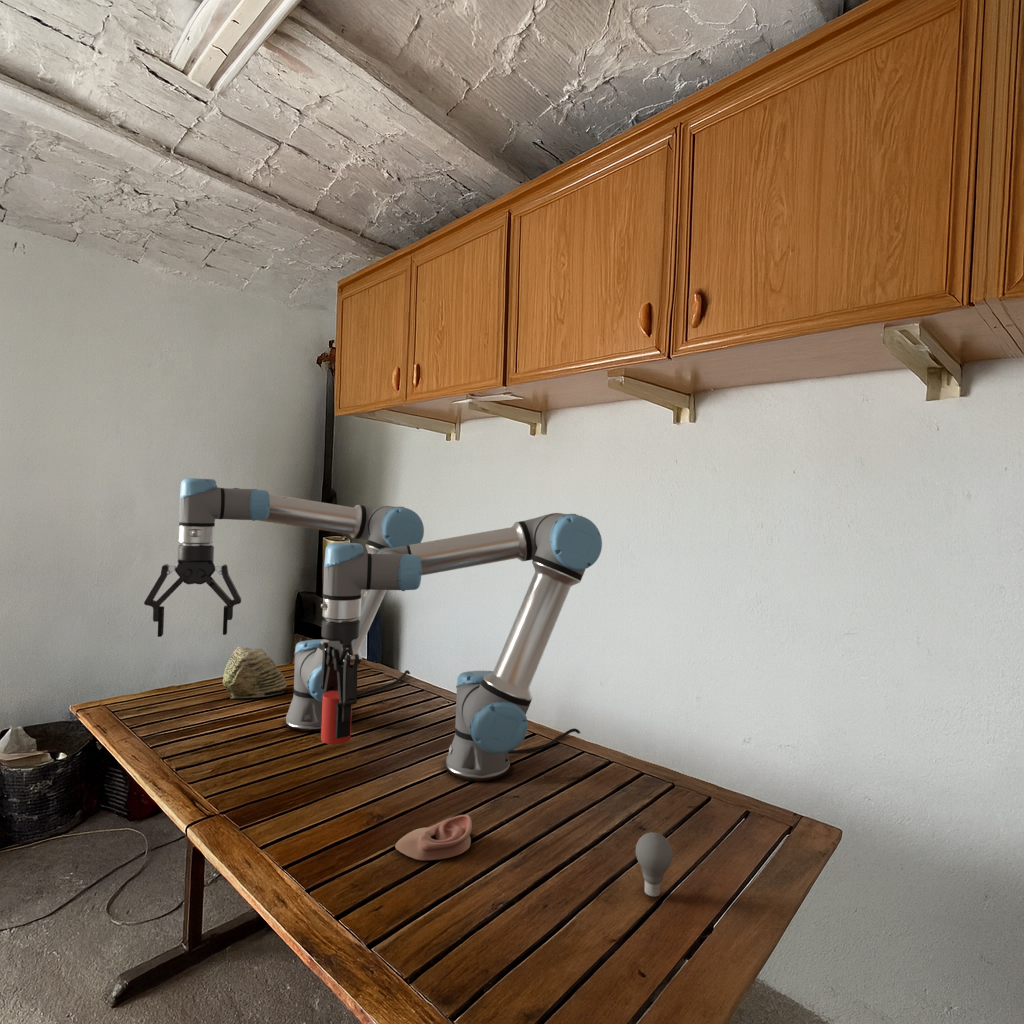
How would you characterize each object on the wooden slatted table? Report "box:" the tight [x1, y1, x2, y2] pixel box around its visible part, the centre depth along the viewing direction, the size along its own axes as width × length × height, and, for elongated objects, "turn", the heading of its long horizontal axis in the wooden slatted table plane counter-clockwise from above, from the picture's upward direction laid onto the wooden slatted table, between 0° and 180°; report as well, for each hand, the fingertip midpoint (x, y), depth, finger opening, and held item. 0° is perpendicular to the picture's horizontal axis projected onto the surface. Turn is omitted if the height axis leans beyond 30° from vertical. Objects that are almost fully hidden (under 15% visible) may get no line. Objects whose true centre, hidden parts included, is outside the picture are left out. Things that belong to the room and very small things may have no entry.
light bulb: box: [635, 831, 674, 897], centre depth 105 cm, size 6×6×10 cm
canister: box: [320, 690, 353, 745], centre depth 129 cm, size 6×6×9 cm
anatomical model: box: [394, 814, 473, 861], centre depth 117 cm, size 13×4×12 cm
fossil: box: [222, 646, 288, 699], centre depth 198 cm, size 9×18×15 cm, turn 132°
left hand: (193, 634), depth 148 cm, fingers open, 13 cm apart
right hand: (336, 731), depth 129 cm, fingers closed on canister, 6 cm apart
